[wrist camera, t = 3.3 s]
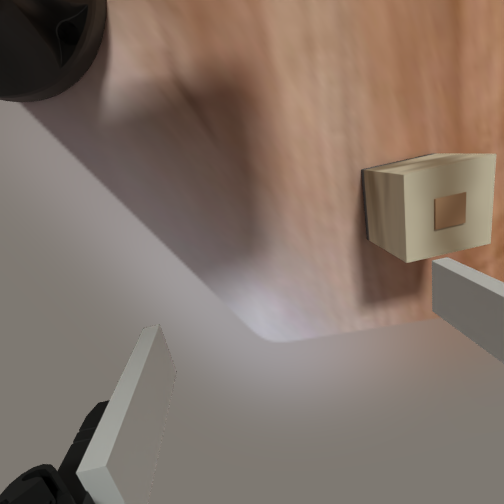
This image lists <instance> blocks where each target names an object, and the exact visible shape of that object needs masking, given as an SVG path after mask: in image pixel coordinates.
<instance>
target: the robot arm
mask: <svg viewBox="0 0 504 504" xmlns="http://www.w3.org/2000/svg"><path fill="white" fill-rule="evenodd" d="M105 18H106V0H0V100H5V101H13V102H31V101H38V100H43V99H47V98H50V97H53V96H55V95H57V94H60V93H61V92H63V91H65V90H67V89H68V88H70V87H71V86H72V85H74V84H75V83H76V82H77V81H78V80H79V79H80V78H81V77H82V76H83V75H84V74H85V72H86V71H87V70H88V68H89V67H90V65H91V64H92V62H93V60H94V58H95V56H96V54H97V52H98V50H99V47H100V44H101V41H102V37H103V32H104V27H105ZM432 309H433V312H434V313H436V314H437V315H438V316H440V317H441V318H443V319H444V320H445V321H447V322H448V323H449V324H451V325H452V326H453V327H455V328H456V329H457V330H459V331H460V332H462V333H463V334H464V335H466V336H467V337H468V338H470V339H471V340H472V341H474V342H475V343H476V344H478V345H479V346H480V347H482V348H483V349H484V350H486V351H487V352H488V353H490V354H491V355H493V356H494V357H495V358H497V359H498V360H499V361H501V362H502V363H503V364H504V283H503V282H501V281H499V280H497V279H495V278H492V277H490V276H488V275H486V274H483V273H481V272H479V271H477V270H475V269H472V268H470V267H468V266H466V265H464V264H461V263H459V262H457V261H455V260H452V259H450V258H448V257H446V258H442V259H438V260H433V261H432ZM176 372H177V371H176V369H175V366H174V363H173V360H172V357H171V355H170V352H169V349H168V346H167V344H166V341H165V338H164V335H163V332H162V330H161V327H160V325H155V326H150V327H146V328H143V330H142V332H141V334H140V336H139V339H138V341H137V343H136V345H135V347H134V350H133V351H132V354H131V356H130V358H129V360H128V362H127V365H126V367H125V369H124V371H123V373H122V375H121V377H120V379H119V382H118V384H117V386H116V388H115V390H114V392H113V395H112V397H111V399H110V400H109V401H105V402H100V403H98V404H97V405H96V406H95V407H94V408H93V410H92V411H91V412H90V413H89V414H88V415H87V416H86V418H85V420H84V422H83V424H82V426H81V427H80V429H79V433H77V435H76V437H75V439H74V441H73V444H72V445H71V447H70V448H69V450H68V452H67V454H66V456H65V458H64V460H63V462H62V464H61V466H60V467H59V469H58V471H57V470H56V469H55V468H54V467H53V466H52V465H50V464H49V465H48V464H42V465H40V466H36V467H33V468H31V469H30V470H28V471H27V472H25V473H23V474H21V475H20V476H19V477H18V478H16V479H15V480H14V481H13V482H12V483H11V484H9V486H8V487H7V488H6V489H5V490H4V491H3V492H2V494H1V495H0V504H148V501H149V496H150V492H151V487H152V483H153V478H154V473H155V469H156V464H157V460H158V455H159V450H160V446H161V441H162V437H163V432H164V427H165V423H166V418H167V414H168V409H169V405H170V400H171V395H172V390H173V386H174V381H175V377H176Z"/></svg>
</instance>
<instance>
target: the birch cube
mask: <svg viewBox="0 0 504 504" xmlns="http://www.w3.org/2000/svg"><path fill="white" fill-rule="evenodd" d="M495 166H496V154H428V155H424V156H419V157H415V158H411V159H406V160H402V161H397V162H393V163H388V164H384V165H380V166H375V167H371V168H366V169H362V170H361V173H362V185H363V197H364V209H365V221H366V234H367V240H369V241H371V242H372V243H374V244H376V245H378V246H379V247H381V248H383V249H384V250H386V251H388V252H389V253H391V254H393V255H394V256H396V257H398V258H399V259H401V260H403V261H404V262H406V263H409V262H413V261H418V260H422V259H426V258H430V257H435V256H439V255H443V254H448V253H452V252H456V251H460V250H465V249H469V248H473V247H478V246H482V245H486V244H490V243H491V228H492V212H493V197H494V181H495Z"/></svg>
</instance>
